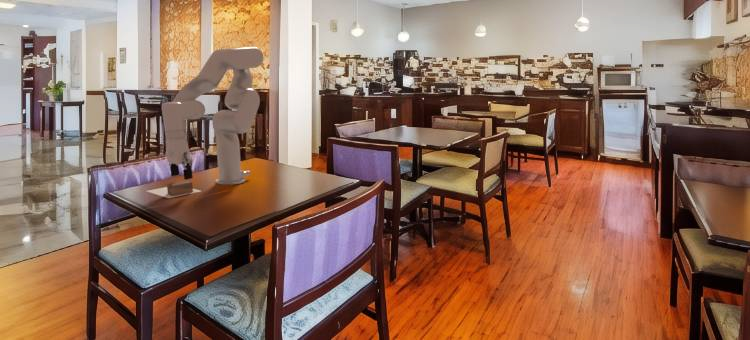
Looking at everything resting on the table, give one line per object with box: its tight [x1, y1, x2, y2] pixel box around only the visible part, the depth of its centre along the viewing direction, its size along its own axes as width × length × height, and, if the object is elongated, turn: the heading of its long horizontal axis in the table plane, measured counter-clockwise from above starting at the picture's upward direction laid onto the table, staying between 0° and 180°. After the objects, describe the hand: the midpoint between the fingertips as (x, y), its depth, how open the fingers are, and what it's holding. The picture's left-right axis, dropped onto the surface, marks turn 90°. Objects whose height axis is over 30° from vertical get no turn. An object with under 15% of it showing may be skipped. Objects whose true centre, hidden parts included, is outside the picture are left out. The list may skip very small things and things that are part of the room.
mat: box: [146, 186, 202, 199], centre depth 184 cm, size 14×18×1 cm
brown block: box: [166, 180, 194, 196], centre depth 181 cm, size 4×8×4 cm, turn 142°
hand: (181, 177), depth 181 cm, fingers open, 9 cm apart
